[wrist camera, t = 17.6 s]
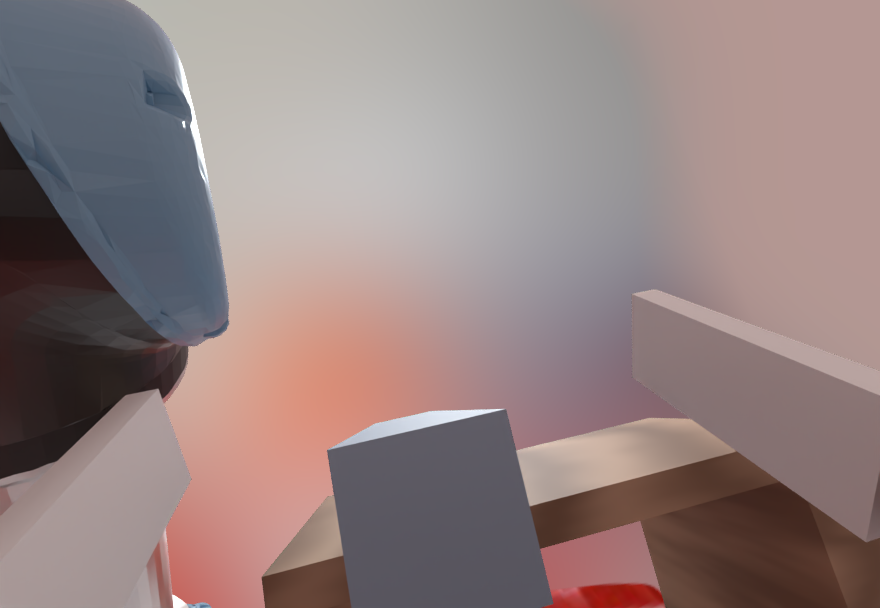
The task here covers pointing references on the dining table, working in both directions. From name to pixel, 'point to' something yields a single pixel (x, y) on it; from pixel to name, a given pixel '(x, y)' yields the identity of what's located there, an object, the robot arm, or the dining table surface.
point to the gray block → (437, 514)
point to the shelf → (650, 524)
